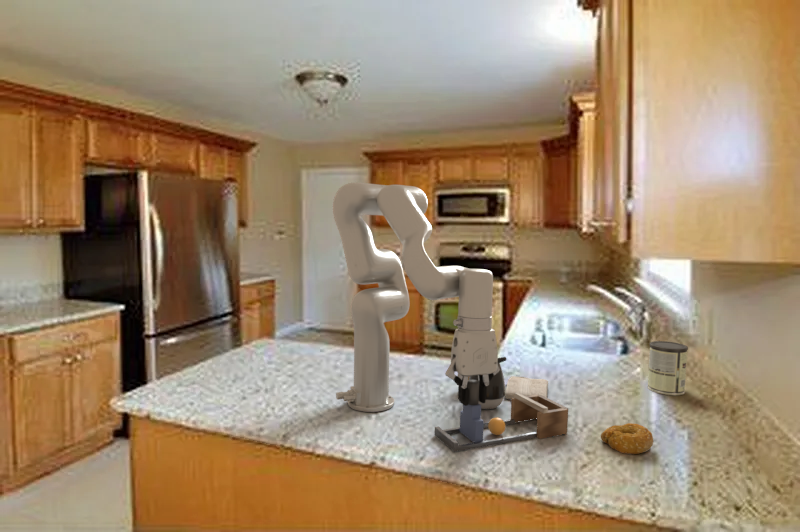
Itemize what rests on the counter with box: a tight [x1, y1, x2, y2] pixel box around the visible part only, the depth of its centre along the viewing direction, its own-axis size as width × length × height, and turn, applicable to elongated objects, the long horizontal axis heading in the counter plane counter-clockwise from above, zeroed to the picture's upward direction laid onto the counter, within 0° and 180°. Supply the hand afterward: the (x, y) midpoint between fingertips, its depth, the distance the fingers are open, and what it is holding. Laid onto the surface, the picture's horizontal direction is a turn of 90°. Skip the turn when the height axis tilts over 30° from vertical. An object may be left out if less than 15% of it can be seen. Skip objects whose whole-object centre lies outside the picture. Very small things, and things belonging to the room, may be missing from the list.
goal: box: [510, 393, 569, 440], centre depth 124 cm, size 9×11×7 cm
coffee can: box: [647, 340, 689, 396], centre depth 155 cm, size 10×10×14 cm
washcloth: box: [504, 375, 549, 400], centre depth 151 cm, size 12×18×3 cm, turn 164°
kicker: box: [459, 380, 485, 443], centre depth 117 cm, size 3×7×13 cm, turn 23°
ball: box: [487, 416, 506, 436], centre depth 120 cm, size 4×4×4 cm
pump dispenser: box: [469, 356, 507, 410], centre depth 138 cm, size 10×10×15 cm
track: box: [434, 418, 537, 453], centre depth 119 cm, size 22×9×2 cm, turn 113°
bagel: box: [600, 422, 654, 455], centre depth 115 cm, size 10×11×5 cm
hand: (472, 401), depth 116 cm, fingers open, 3 cm apart
